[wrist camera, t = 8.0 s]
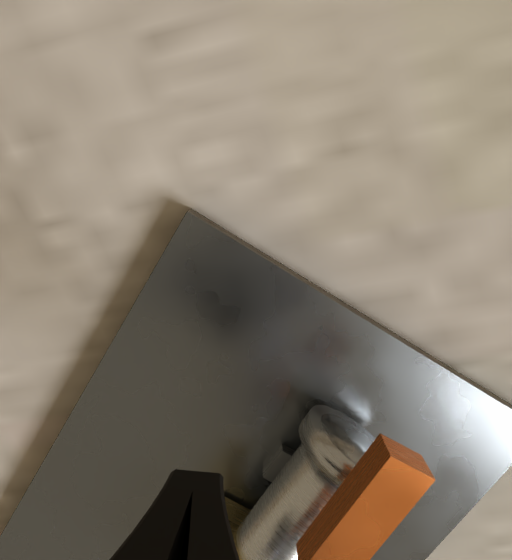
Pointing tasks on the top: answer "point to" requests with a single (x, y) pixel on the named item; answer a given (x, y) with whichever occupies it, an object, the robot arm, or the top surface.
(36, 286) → the top surface
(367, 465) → the lever
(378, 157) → the top surface
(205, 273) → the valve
